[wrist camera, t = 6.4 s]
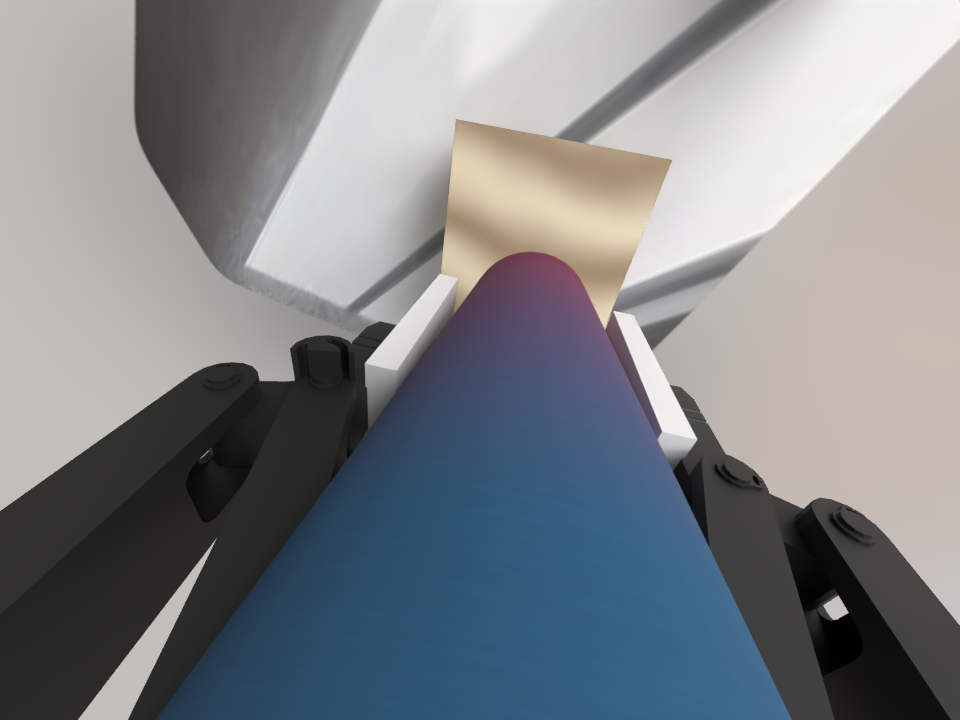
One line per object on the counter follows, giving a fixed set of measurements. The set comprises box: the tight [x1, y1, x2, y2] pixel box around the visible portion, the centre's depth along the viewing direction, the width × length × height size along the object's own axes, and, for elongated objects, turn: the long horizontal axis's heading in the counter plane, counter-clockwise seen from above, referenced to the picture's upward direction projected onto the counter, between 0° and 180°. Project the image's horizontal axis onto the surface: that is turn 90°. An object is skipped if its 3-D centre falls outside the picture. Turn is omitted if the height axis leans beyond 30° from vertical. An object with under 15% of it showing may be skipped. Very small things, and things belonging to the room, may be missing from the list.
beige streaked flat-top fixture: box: [441, 119, 672, 328], centre depth 27 cm, size 13×13×8 cm
